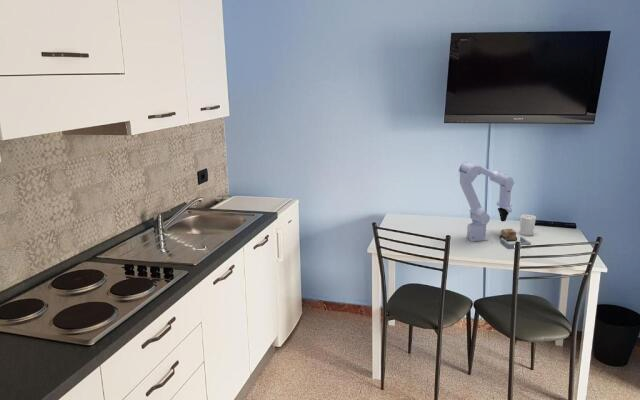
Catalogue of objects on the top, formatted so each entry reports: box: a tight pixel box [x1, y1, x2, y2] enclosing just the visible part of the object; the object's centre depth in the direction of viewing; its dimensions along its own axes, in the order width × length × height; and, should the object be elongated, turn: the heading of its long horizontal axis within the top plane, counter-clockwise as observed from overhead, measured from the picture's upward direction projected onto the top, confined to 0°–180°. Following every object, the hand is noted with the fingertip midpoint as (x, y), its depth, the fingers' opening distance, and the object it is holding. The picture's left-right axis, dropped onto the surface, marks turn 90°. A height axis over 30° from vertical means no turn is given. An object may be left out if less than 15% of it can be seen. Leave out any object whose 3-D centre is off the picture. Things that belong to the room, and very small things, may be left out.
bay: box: [499, 236, 532, 250], centre depth 260 cm, size 12×10×2 cm
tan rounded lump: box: [498, 228, 518, 241], centre depth 268 cm, size 8×5×5 cm, turn 95°
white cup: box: [519, 214, 537, 236], centre depth 275 cm, size 8×8×10 cm
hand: (503, 221), depth 274 cm, fingers closed
